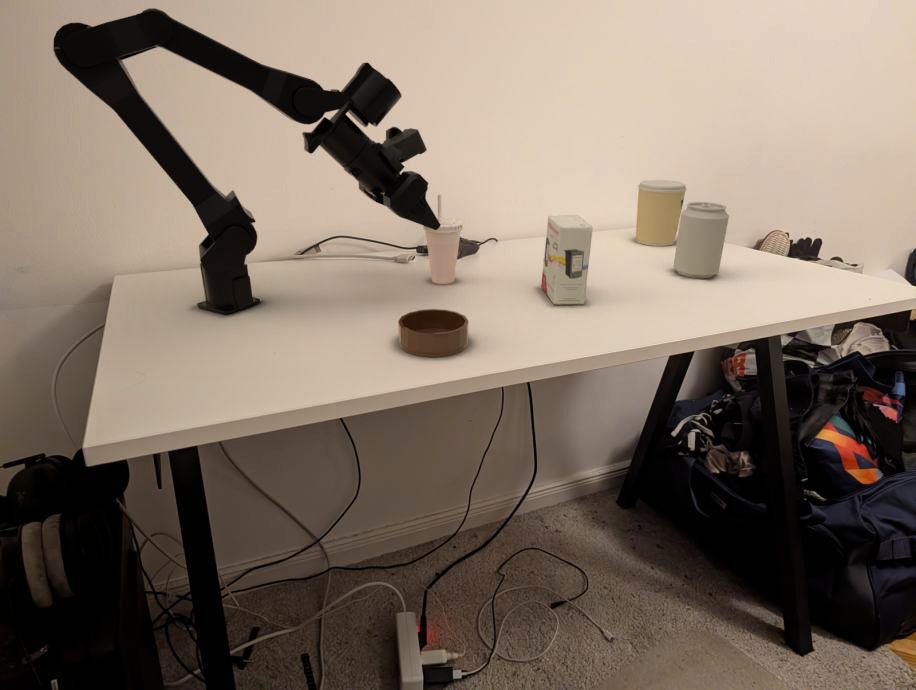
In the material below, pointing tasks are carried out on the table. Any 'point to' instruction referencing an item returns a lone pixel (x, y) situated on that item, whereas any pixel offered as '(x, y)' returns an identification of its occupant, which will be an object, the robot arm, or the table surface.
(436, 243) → the smoothie
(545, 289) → the ink box
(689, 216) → the can
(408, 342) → the brown bowl
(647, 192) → the yellow lidded canister
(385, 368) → the table surface
